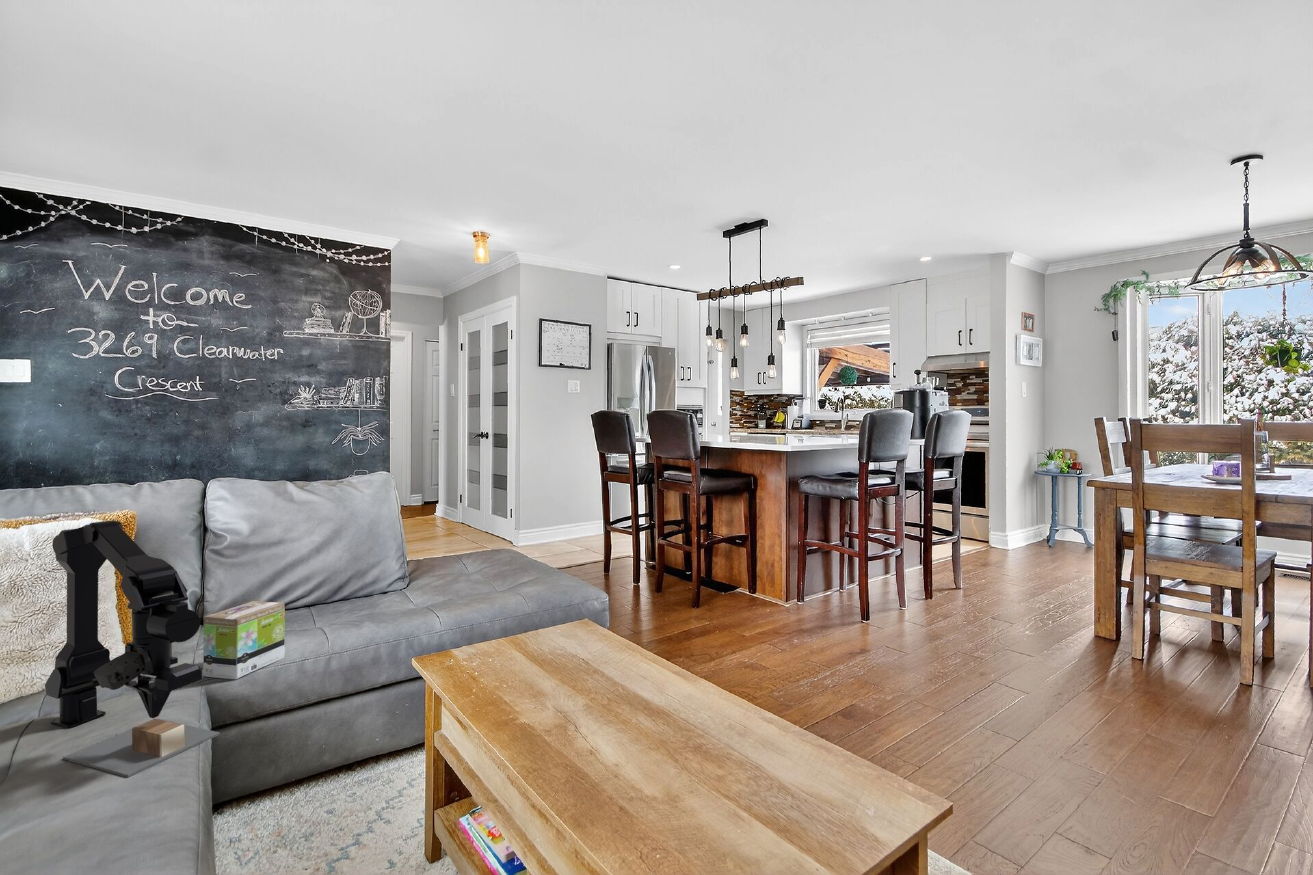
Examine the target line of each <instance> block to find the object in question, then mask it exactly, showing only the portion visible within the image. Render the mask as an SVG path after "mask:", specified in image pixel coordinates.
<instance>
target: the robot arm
mask: <svg viewBox="0 0 1313 875" xmlns="http://www.w3.org/2000/svg"><path fill="white" fill-rule="evenodd" d="M51 546H52V550H53V552H54V554H55V560H56V562H57V563H58V564H59V565H60V566H61V567H62V568H63V569H64V570H65V572H66V642H65V644H64V645H63V646H62V648H61V650H60V651H59V652H58V654H57V655H56V656H55V660H54V669H53V670H52V671H51V673H50V675H49V676H48V678H47V680H46V682H45V684H44V688H45V689H44V690H45V694H46V696H49V697H51V698H53V699H56V700H58V704H59V705H58V706H59V708H58V709H59V710H58V711H59V717H57V718H53V719H52V720H51V719H50V724H53V725H56V726H61V727H65V728H73V727H76V726H79V725H81V724H83V723H86V722H89V721H92V720H95V719H97V718H100V717H102V716H105V715H106V713H107V712H106V711H104V710H99V709H98V697H97V696H98V692H97V691H98V690H97V689H98V688H97V687H99V686H100V687H101V688H102V689H104V688H106V689H110V690H111V691H116V690H118V689H120V688H122V687H124V686H125V687H128V688H131V690H134V691H136V692H137V693H138V696H139V697H140V699H141V701H142V703H143V705H144V708H145V710H146V712H147V714H148V716H149V718H150V719H156V718H157V717H159V716H160V714H161V712H162V710H163V708H164V706H165V704H166V702H167V701H168V698H169V696H170V695H171V693H172V691H175V690H177V689H181V688H183V687H185V686H188V685H192V684H194V683H196V682H199V681H202V680H203V679H204V676H203V666H202V667H201V666H200V665H198V664H193V663H188V662H184V663H182V664H178V662H179V660H178V656H177V657H176V656H173V646H172V645H173V643H184V642H187V641H188V640H190V639H192V638H193V637H194V636H195V635H196V634H197V632H198V631H199V629H200V626H201V618H200V616H199V615H198V613H197V612H196V611H194V610H192V609H189V605H188V602H186V601H188V600H189V597H188V594H187V592H188V589H187V588H186V586H185V584H184V582H183V580H182V579H181V577H180V575H179V573H178V571H177V570H176V569H175V568H174V567H173V566H172V565H171V564H170V563H169V562H167V561H165V560H164V559H162V558H157V557H154V556H153V557H152V556H149V555H148V554H147V553H146V551H144V549H142V548H141V546H139V545H138V543H136V541H134V539H132V538H131V536H130V535H129V534H128V533H127V532H126V531H125V530H124V528H123V524H122V523H121V521H119V520H115V519H114V520H113V519H112V520H104V521H95V522H89V523H88V524H85V525H83V526H81V527H77V528H71V529H62V530H61V531H60V532H59V533H58V535H56V536H54V537H53V539H52V545H51ZM106 561H108V562H109V563H110V564H111V565H112V566H113V567H114V569H115V570H117V572H118V573H119V574H120V575H121V577H122V578H121V580H120V585H119V586H120V588H121V590H122V593H123V594H124V596H125V597H126V599H127V600H128V602H129V603H128V604H127V609H128V610H131V631H132V632H131V637H132V641H129V642H126V645H125V646H124V653H122V654H120V655H118V656H116V657H114V658H112V659H111V658H110V654H111V651H110V650H109V648H107V647H105V646H104V645H103V643H101V642H100V640H99V571H100V569H101V567H102V566H103V565H104V564H105V562H106ZM176 664H178V665H176ZM173 665H175V666H173Z"/></svg>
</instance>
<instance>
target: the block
mask: <svg viewBox="0 0 1313 875" xmlns="http://www.w3.org/2000/svg"><path fill="white" fill-rule="evenodd" d="M159 719H160V718H152V719H151V720H148V721H146V722H144V723H141V724H138V725H137V726H133V727H131V729H132V750H136V751H140V752H145V753H149V754H153V755H157V756H161V757H163V756H165V755H167V754H169V753H171V752H173V751H176V750H178V749H180V748H182V747H184V746H185V740H184V725H185V724H184V725H181V724H182V723H179V724H177V723H178V722H175V723H172V722H173V721H170V722H168V721H169V720H166V721H163V720H164V719H161V720H159Z"/></svg>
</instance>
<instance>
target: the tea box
mask: <svg viewBox="0 0 1313 875" xmlns="http://www.w3.org/2000/svg"><path fill="white" fill-rule="evenodd" d="M285 608H286V606H285V603H284V602H274V601H260V600H252V601H249V602H246V603H243V604H240V605H237V606H234V607H233V606H232V607H230V608H227V609H223V610H220V611H217V612H214V613H212V614H208V615H204V616H203V645H202V646H203V657H202V658H203V665H202V668H203V677H207V678H217V679H226V680H238V679H240V678H242V677H244V676H245V675H248V674H251V673H252V672H255V671H257V670H259V669H262V668H264V667H266V666H269V665H271V664H273V663H276V662H279V661H280V660H283V659H284V658H285V648H286V646H285V644H286V642H285V636H286V633H285V626H286V624H285V623H286V622H285V616H286V614H285V613H286V612H285V610H286V609H285Z"/></svg>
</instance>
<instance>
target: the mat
mask: <svg viewBox="0 0 1313 875" xmlns="http://www.w3.org/2000/svg"><path fill="white" fill-rule="evenodd" d="M158 719H159V720H163V721H168V722H172V723H177V724H181V725H184V740H185V746H184V747H182V748H180V749H178V750H176V751H173V752H171V753H169V754H167V755H165V756H163V757H161V756H157V755H153V754H149V753H145V752H140V751H136V750H132V728H131V729H127V730H125V731H123V732H120V733H118V734H116V735H113V736H111V737H108V738H106V739H103V740H101V741H99V742H96V743H94V744H92V745H89V746H86V747H84V748H81V749H79V750H76V751H74V752H71V753H69V754H66V755H64V756H62V760H64V761H68V762H71V763H76V764H79V765H83V766H85V767H90V768H94V769H98V770H101V771H104V772H108V773H112V774H115V775H119V776H121V777H127V778H130V777H132V776H134V775H136V774H138V773H140V772H143V771H145V770H148V769H149V768H151V767H154V766H155V765H156V766H157V764H160V763H162V762H164V761H166V760H169V759H170V758H171V759H172V758H173V757H175V756H177V755H179V754H181V753H183V752H185V751H188V750H190V749H192V748H194V747H196V746H198V745H200V744H203V743H205V742H207V741H209V740H210V739H211V740H212V739H213V738H215V737H218V736H219V735H221V734H220V731H215V730H210V729H205V728H201V727H197V726H192V725H189V724H188V725H187V724H184V723H178V722H173V721H169V720H165V719H162V718H158Z"/></svg>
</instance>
